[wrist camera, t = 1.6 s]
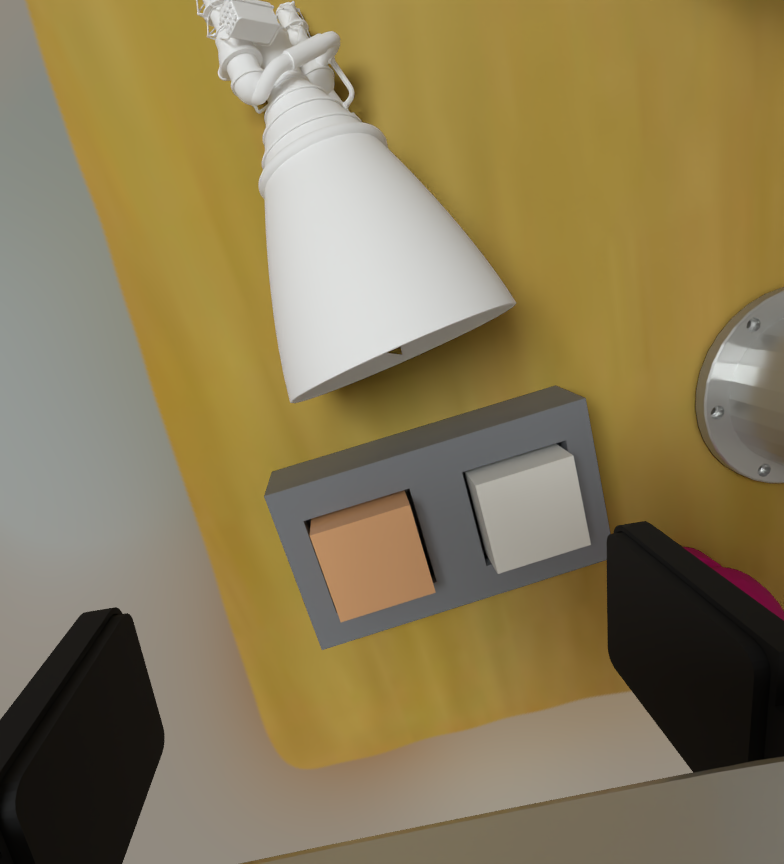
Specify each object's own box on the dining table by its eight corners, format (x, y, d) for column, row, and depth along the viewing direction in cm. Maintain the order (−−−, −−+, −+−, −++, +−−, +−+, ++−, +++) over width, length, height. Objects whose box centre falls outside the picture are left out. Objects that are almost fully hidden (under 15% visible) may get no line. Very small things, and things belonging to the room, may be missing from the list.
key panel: (555, 385, 33) (585, 398, 29) (584, 528, 36) (614, 557, 32) (271, 471, 32) (264, 496, 29) (322, 610, 35) (322, 649, 31)
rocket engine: (165, -194, 17) (396, 341, 18) (410, -87, 24) (562, 285, 25) (92, 74, 26) (250, 422, 27) (288, 91, 33) (405, 362, 34)
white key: (555, 443, 31) (573, 455, 28) (572, 526, 32) (590, 544, 30) (464, 471, 30) (475, 485, 28) (485, 553, 32) (498, 574, 30)
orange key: (403, 488, 30) (409, 504, 28) (428, 570, 32) (435, 592, 29) (311, 517, 30) (309, 535, 28) (340, 598, 32) (340, 622, 29)
